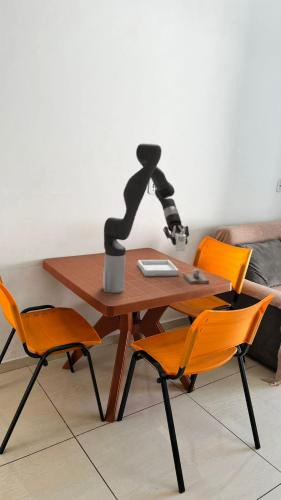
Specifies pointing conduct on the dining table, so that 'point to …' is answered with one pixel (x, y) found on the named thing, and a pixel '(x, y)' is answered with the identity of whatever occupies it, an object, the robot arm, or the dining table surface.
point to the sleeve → (179, 242)
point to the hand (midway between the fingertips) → (180, 244)
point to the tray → (157, 268)
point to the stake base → (197, 280)
